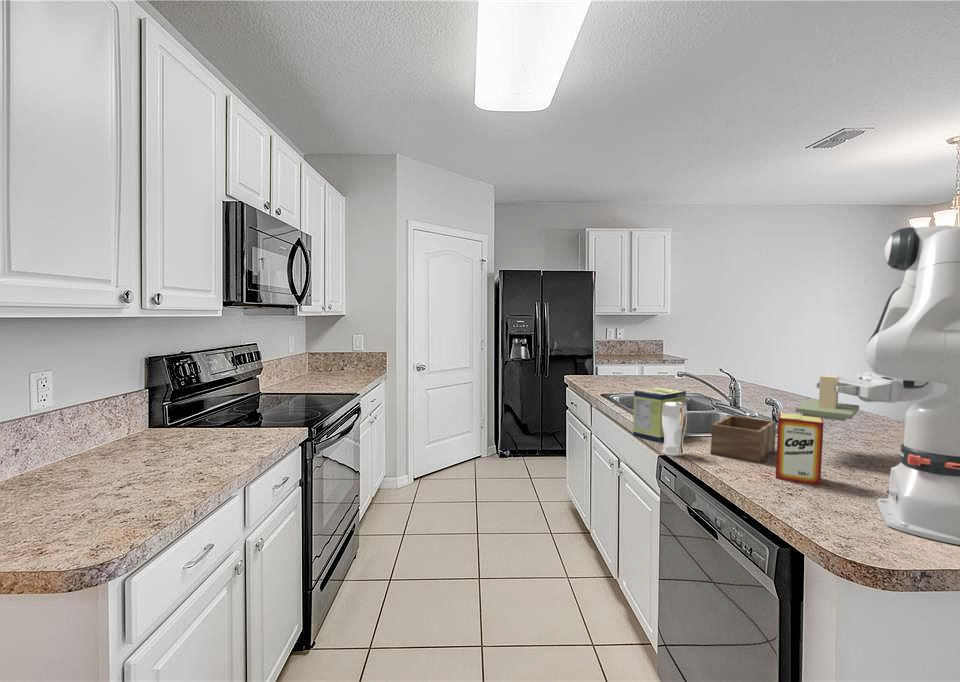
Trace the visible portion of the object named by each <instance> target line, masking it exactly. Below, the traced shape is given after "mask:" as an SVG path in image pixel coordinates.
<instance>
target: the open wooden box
mask: <svg viewBox="0 0 960 682" xmlns="http://www.w3.org/2000/svg"><path fill="white" fill-rule="evenodd" d="M776 431H777V421H774V420H768V419H760V418H752V417H747V416H746V417H745V416H737V415H732V414H731V415H728V416H726V417H724V418H722V419H720V420H718V421H716V422H714V423H711V434H710V435H711V438H710V455H713V456H718V457H724V458H729V459H734V460H738V461H745V462H749V463H750V462H751V463H755V464H760V463H762V461H764V460H765V459H767V458H768V457H769V456H770V455H772V453H774V452H775V451H776V436H777V435H776Z"/></svg>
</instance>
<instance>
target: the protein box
mask: <svg viewBox="0 0 960 682" xmlns="http://www.w3.org/2000/svg"><path fill="white" fill-rule="evenodd" d="M686 395H687V391H686V390H681V389H675V388H667V387H661V386H658V387H652V388H646V389H639V390H635V391H634V393H633V421H632V422H633V423H632V424H633V427H632V428H633V429H632V430H633V431H632V436H633V437H636V438H640V439H641V438H642V439H645V440H650V441H654V442H658V443H661V442H664V434H663V427H662V408H663V403H664V402H680V403H685V404H686V401H687V399H686V397H687V396H686Z"/></svg>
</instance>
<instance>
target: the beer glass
mask: <svg viewBox="0 0 960 682" xmlns="http://www.w3.org/2000/svg"><path fill="white" fill-rule="evenodd" d="M687 417H688V411H687V404H686V403H680V402H664V403H663V408H662V427H663V434H664V441H663V446H662V454H663V455H667V456H670V457H671V456H673V457H681V456H684V455H685V451H684V450H685V449H684V437H685V433H686V428H687V420H688V418H687Z"/></svg>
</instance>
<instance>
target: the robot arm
mask: <svg viewBox="0 0 960 682" xmlns="http://www.w3.org/2000/svg"><path fill="white" fill-rule="evenodd" d="M883 253H884V256H885V260H886V265H888V266H889V267H890V268H891V269H894V270H898V271H902V272H903V271H904V277H903V281H902V284H901V285H900V286H899V287H896V288H895V289H893V291H892V292H891V294H890V295H889V297H888V298H887V301H886V303H885V305H884V308H883V311H882V313H881V315H880V318H879V321H878V323H877V326H876V328H875V331H874V332H873V333H872V335H871V336H870V337H869V340H868V342H867V345H866V347H865V351H864V355H865V356H864V357H865V360H866V361H865V362H866V364H867V365H868V367H869V368H870V369H871V370H872V371H863V372H860V373H859V374H858V375H857V376H856V377H854V378H849V377H843V376H839V386H834V390H833V391H834V392H838V394H841V393H842V394H845V395H850V396H854V397H858V399H860V400H861V401H863V402H866V403H889V404H891V403H892V404H895V403H898V402H899V403H900V402H904V403H905V402H915V401H917V402H915V403H913V404H911V406H909V407H908V409H907V410H906V412H905V415H904V416H905V418H904V429H903V430H904V433H903V434H904V435H903V443H902V444H900V449H899V461H900V462H899V463H898V464H897V465H895V466H893V467H891V468H890V477H889V487H888V489H887V491H886V493H887V495H888V498H885V497H884V498H877V500H876V505H877V507H878V509H879V511H880V514H881V516H882V518H883V521H884V523H885V524H886V526H888V527H890V528H893V529H895V530H898V531H901V532H903V533H908V534H911V535H915V536H918V537H922V538H926V539H929V540H930V539H931V540H935V541H938V542H944V543H948V544H953V545H958V546H959V545H960V330H957V329H956V330H951V329H946V328H948V327H950V326H952V325H955V324H958V323H960V226H958V225H957V226H955V225H954V226H951V225H935V226H934V225H932V226H931V225H930V226H922V227H921V226H920V227H913V226H907V227H902V228H898V229H897V230H895V231H894V232H892V233H891V236H889V238H888V240H887V242H886V243H885V246H884V252H883ZM934 383H935V384H936V383H937V384H943V385H946V386H947V390H946V391H945V393H943V394H941V395H939V396H935V397H931V398H927V397H929V396H930V395H931V394H932V392H933V390H934ZM815 388H816V389H820V376H819V377H818V378H817V381H816V382H815ZM925 398H927V399H925ZM923 399H924V400H923ZM919 400H921V401H919Z"/></svg>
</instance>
